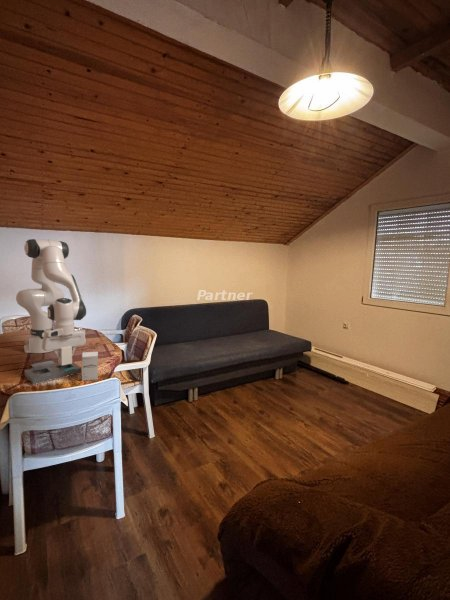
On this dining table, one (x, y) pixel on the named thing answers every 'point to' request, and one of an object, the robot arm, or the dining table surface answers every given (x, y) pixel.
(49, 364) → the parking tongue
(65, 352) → the peg
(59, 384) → the dining table surface
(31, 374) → the rack plate
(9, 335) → the dining table surface
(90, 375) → the supplement box
